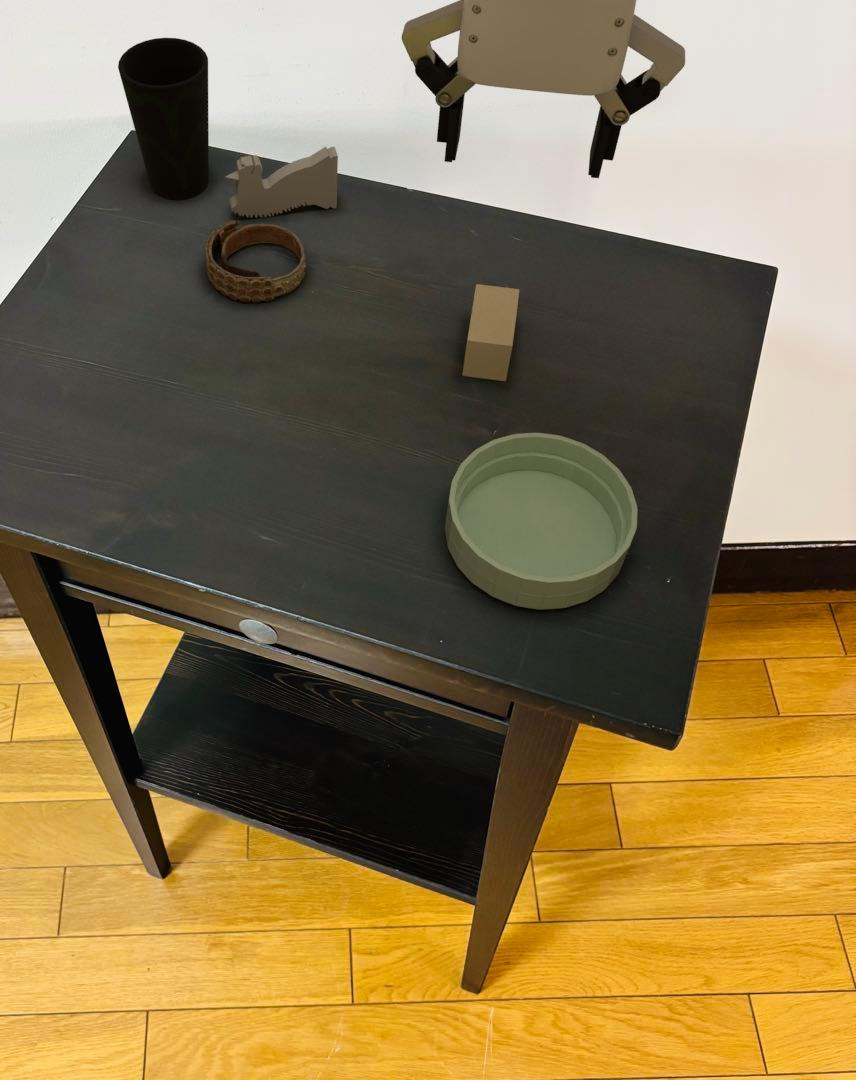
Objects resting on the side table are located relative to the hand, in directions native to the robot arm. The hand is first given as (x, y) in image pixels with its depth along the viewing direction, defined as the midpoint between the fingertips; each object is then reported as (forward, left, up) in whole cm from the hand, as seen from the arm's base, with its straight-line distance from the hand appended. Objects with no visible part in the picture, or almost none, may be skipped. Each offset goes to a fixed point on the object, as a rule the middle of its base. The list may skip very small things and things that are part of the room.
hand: (522, 157), depth 72 cm
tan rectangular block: (0, 0, -18) cm, 18 cm away
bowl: (-5, +18, -18) cm, 26 cm away
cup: (+31, -17, -18) cm, 40 cm away
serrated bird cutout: (+20, -15, -18) cm, 31 cm away
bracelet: (+21, -6, -18) cm, 29 cm away
